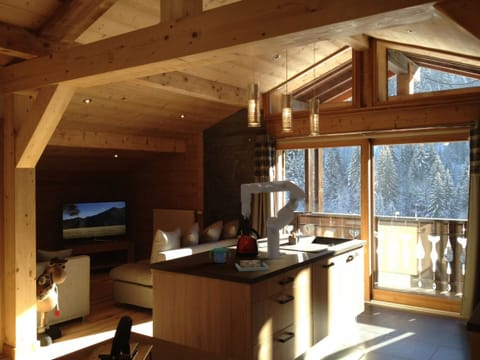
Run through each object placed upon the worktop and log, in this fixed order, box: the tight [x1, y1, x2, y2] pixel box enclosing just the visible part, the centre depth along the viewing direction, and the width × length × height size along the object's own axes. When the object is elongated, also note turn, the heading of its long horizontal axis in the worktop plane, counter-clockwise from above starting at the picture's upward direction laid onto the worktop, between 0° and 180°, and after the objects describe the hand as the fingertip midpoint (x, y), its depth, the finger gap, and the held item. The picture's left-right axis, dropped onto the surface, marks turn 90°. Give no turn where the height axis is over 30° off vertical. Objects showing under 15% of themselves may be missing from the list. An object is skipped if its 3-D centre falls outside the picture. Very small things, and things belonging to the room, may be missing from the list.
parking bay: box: [235, 262, 270, 272], centre depth 318 cm, size 20×17×2 cm
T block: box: [239, 259, 262, 268], centre depth 320 cm, size 14×14×4 cm
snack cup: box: [209, 247, 232, 264], centre depth 340 cm, size 16×11×10 cm
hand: (246, 224), depth 351 cm, fingers closed
